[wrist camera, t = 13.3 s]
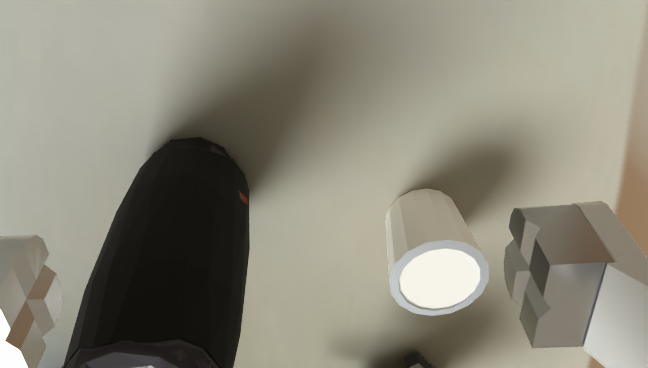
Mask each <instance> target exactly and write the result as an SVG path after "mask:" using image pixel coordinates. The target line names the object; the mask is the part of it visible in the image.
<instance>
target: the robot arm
mask: <svg viewBox="0 0 648 368" xmlns="http://www.w3.org/2000/svg"><path fill="white" fill-rule="evenodd" d="M509 229H510V231H511V233H512V235H513V237H514V239H513V240H512V241H511V242H510V244H509V245H508V246H507V247H506V249H505V257H504V273H505V281H506V285H507V289H508V291H509V294H510V296H511V299H512V300H513V301H515V302H516V303H518V304H519V305H520V306H522V309H521V314H520V320H521V323H522V325H523V327H524V330H525V332H526V334H527V337H528V339H529V341H530V344H531V346H532V348H550V347H580V346H584V347H583V349H584V350H585V351H586V352H588V353H589V354H590V355H591V356H592V357H594V358H595V359H596V360H597V361H598V362H600V363H601V364H602V365H603V366H604V367H606V368H648V258H647V257H646V255H645V254H644V253H643V251H642V250H641V249H640V247H639V246H638V245H637V243H636V242H635V241H634V239H633V238H632V237H631V235H630V234H629V233H628V231H627V230H626V229H625V227H624V226H623V225H622V223H621V222H620V221H619V219H618V218H617V217H616V215H615V214H614V213H613V211H612V210H611V209H610V207H609V206H608V205H607V204H606V203H604V202H602V201H597V202H585V203H573V204H571V205H558V206H542V207H526V208H514V210H513V212H512V214H511V218H510V224H509ZM48 255H49V252H48V250H47V248H46V245H45V243H44V241H43V239H42V238H40V237H38V236H37V235H25V236H0V368H37V366H38V364H39V362H40V360H41V357H42V355H43V353H44V351H45V348H46V345H45V343H44V340H43V338H42V336H44V335H45V334H46V333H47V332H49V331H50V330H51V329H53V328H54V327H55V325H56V323H57V320H58V318H59V315H60V311H61V303H62V293H61V285H60V282H59V279H58V276H57V274H56V273H55V272H54V271H52V270H51V269H50V268H48V267H47V266H46V265H44V263H45V261H46V259H47V257H48Z"/></svg>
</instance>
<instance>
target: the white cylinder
mask: <svg viewBox="0 0 648 368" xmlns="http://www.w3.org/2000/svg"><path fill="white" fill-rule="evenodd" d="M385 225H386V241H387V257H388V273H389V284H390V292H391V295H392V296H393V297H394V299H395V300H396V301H397V303H398V304H399V305H400V306H402V307H403V308H405V309H407V310H409V311H411V312H413V313H416V314H423V315H429V316H435V315H442V314H449V313H453V312H455V311H457V310H460V309H462V308H464V307H466V306H468V305H470V304H471V303H472V302H473V301H474V300H475V299H476V298H478V297H479V296H480V295H481V294H482V292H483V291H484V289H485V287H486V285H487V283H488V281H489V264H488V262H487V260H486V259H485V257H484V255H483V253H482V251H481V250H480V248H479V246H478V244H477V243H476V241H475V239H474V237H473V235H472V234H471V232H470V230H469V228H468V227H467V225H466V223H465V221H464V219H463V218H462V216H461V214H460V212H459V211H458V209H457V207H456V205H455V204H454V202H453V200H452V199H451V198H450V197H449V196H447V195H446V194H444V193H443V192H441V191H438V190H432V189H427V188H426V189H419V190H412V191H410V192H408V193H406V194H404V195H402V196H400V197H398V198H397V199H396V201H395V202H394V203H393V204H392V205H391V206H390V207H389V209H388V212H387V215H386V217H385Z"/></svg>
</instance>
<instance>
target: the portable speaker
mask: <svg viewBox="0 0 648 368" xmlns="http://www.w3.org/2000/svg"><path fill="white" fill-rule="evenodd" d="M248 257H249V189H248V185H247V182H246V178H245V175H244V173H243V172H242V171H241V170H240V168H239V167H238V166H237V164H236V163H235V162H234V161H233V159H231V158H230V157H229V155H228V153H227V152H226V150H225V149H224V148H223V147H221V146H219V145H217V144H214V143H212V142H210V141H207V140H205V139H203V138H201V137H199V138H189V139H178V140H171V141H170V142H168V143H167V144H166V145H164V146H163V147H162V148H161V149H159V150H158V151H157V152H154V153H153V154H152V156H151V157H150V158H149V159H148V160H147V161H146V162H145V164H144V165H143V166H142V167H141V168H140V170H139V171H138V173H137V175H136V177H135V179H134V181H133V182H132V184H131V186H130V188H129V190H128V192H127V193H126V195H125V197H124V199H123V201H122V203H121V205H120V207H119V208H118V210H117V212H116V215H115V217H114V219H113V222H112V224H111V227H110V229H109V232H108V234H107V237H106V239H105V242H104V244H103V247H102V249H101V252H100V254H99V257H98V259H97V261H96V264H95V266H94V269H93V271H92V274H91V276H90V279H89V281H88V284H87V286H86V289H85V291H84V295H83V299H82V302H81V306H80V309H79V313H78V316H77V320H76V323H75V327H74V330H73V334H72V337H71V341H70V345H69V348H68V352H67V355H66V359H65V362H64V366H62V368H233V365H234V361H235V356H236V351H237V347H238V342H239V338H240V332H241V322H242V313H243V304H244V295H245V285H246V276H247V267H248Z"/></svg>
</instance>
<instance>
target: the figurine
mask: <svg viewBox="0 0 648 368" xmlns="http://www.w3.org/2000/svg"><path fill="white" fill-rule="evenodd" d="M405 359H406V363H407V366H408V368H432V366H431V365H430V364H428V363H427V362H426V361H425V360H424V358H423V357H421V356H420V355H419V353H418V352H415V353H413V354H411V355H409V356H407V357H405Z"/></svg>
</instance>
